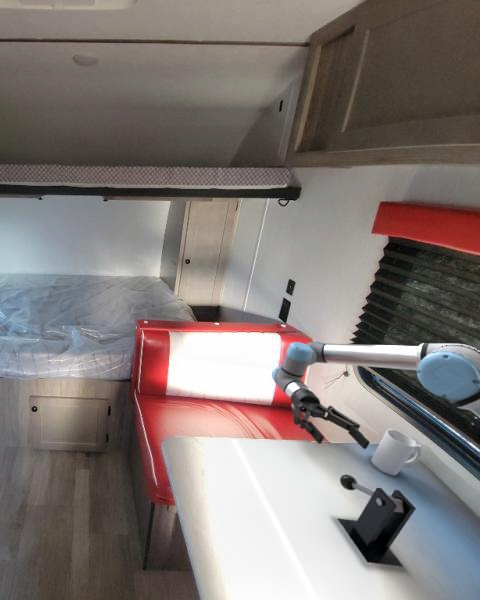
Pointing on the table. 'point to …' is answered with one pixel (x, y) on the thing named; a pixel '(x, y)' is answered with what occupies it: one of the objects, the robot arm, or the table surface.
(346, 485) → the lever
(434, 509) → the table surface
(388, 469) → the mug
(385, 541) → the bracket
